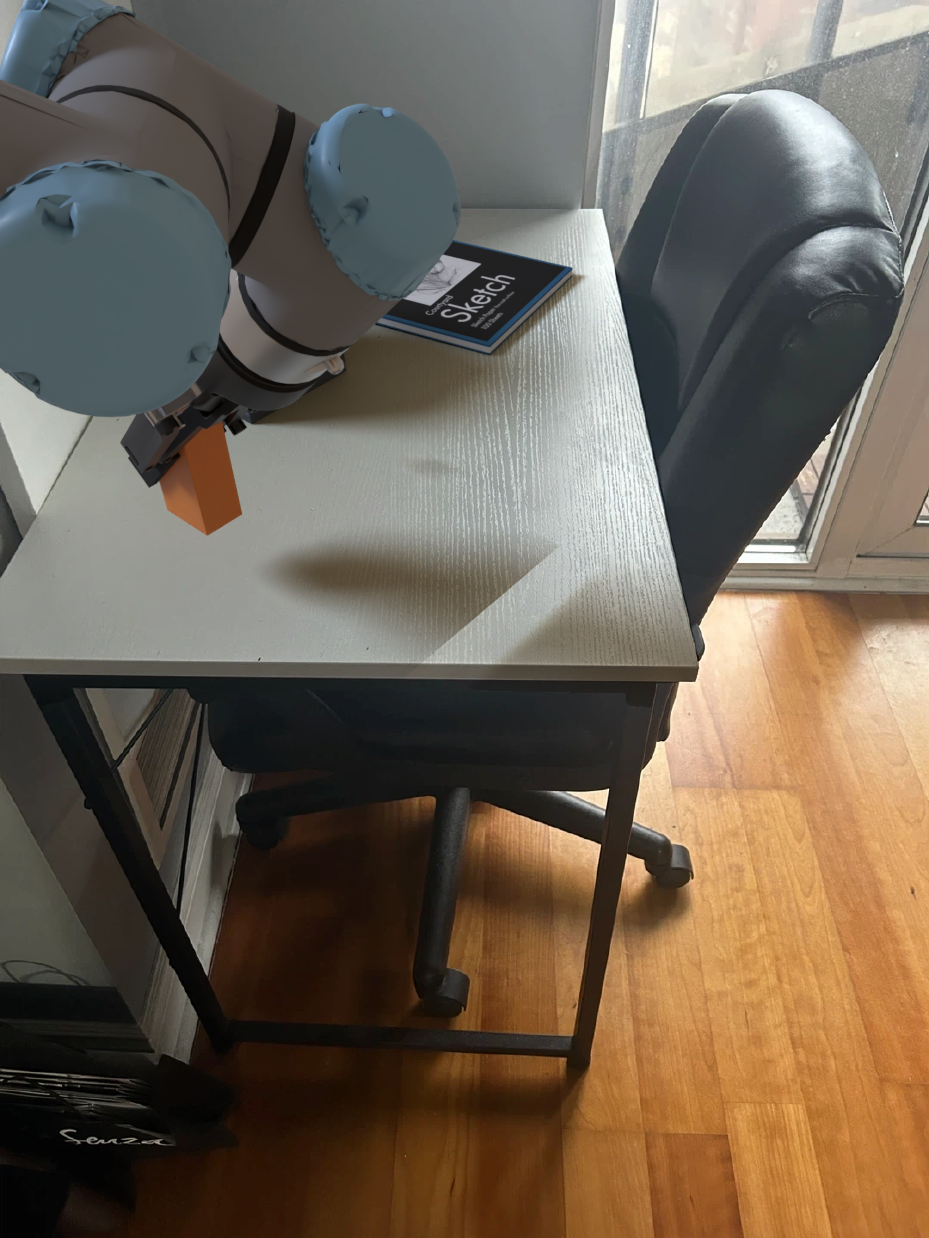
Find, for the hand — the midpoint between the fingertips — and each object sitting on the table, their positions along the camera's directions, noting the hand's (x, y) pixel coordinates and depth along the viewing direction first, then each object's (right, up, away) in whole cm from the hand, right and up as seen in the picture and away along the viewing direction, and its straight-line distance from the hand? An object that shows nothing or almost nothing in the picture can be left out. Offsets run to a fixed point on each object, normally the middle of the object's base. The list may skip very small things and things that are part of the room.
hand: (165, 458), depth 73 cm
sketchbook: (+18, +28, +41) cm, 53 cm away
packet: (+3, -4, +1) cm, 5 cm away
